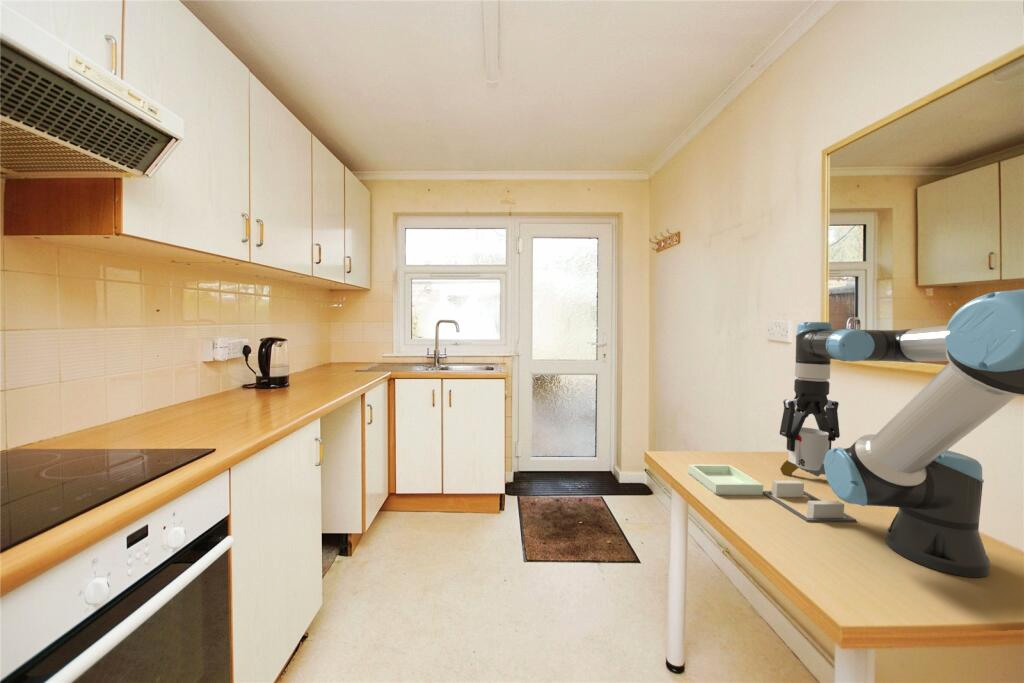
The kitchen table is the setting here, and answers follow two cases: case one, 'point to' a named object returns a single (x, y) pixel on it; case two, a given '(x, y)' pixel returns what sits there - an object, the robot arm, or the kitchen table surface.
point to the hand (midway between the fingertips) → (808, 462)
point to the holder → (809, 503)
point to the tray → (725, 480)
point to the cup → (812, 448)
